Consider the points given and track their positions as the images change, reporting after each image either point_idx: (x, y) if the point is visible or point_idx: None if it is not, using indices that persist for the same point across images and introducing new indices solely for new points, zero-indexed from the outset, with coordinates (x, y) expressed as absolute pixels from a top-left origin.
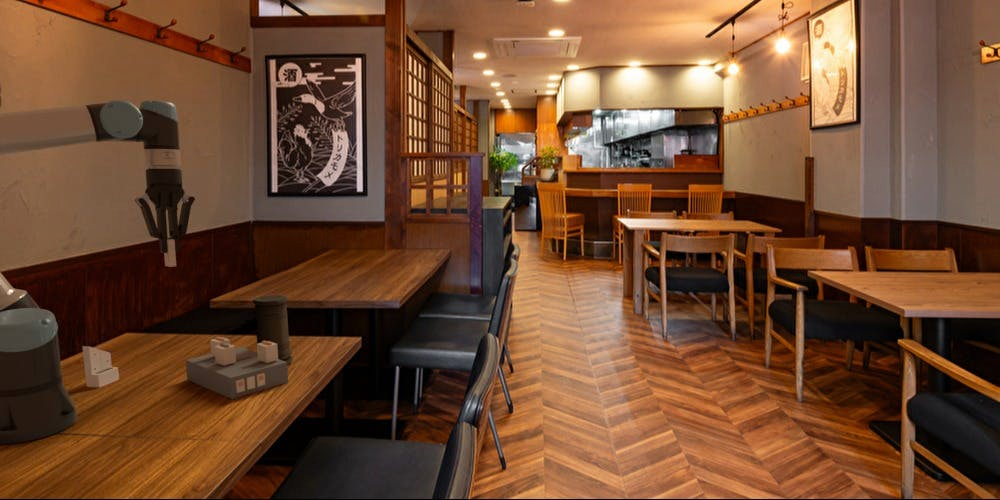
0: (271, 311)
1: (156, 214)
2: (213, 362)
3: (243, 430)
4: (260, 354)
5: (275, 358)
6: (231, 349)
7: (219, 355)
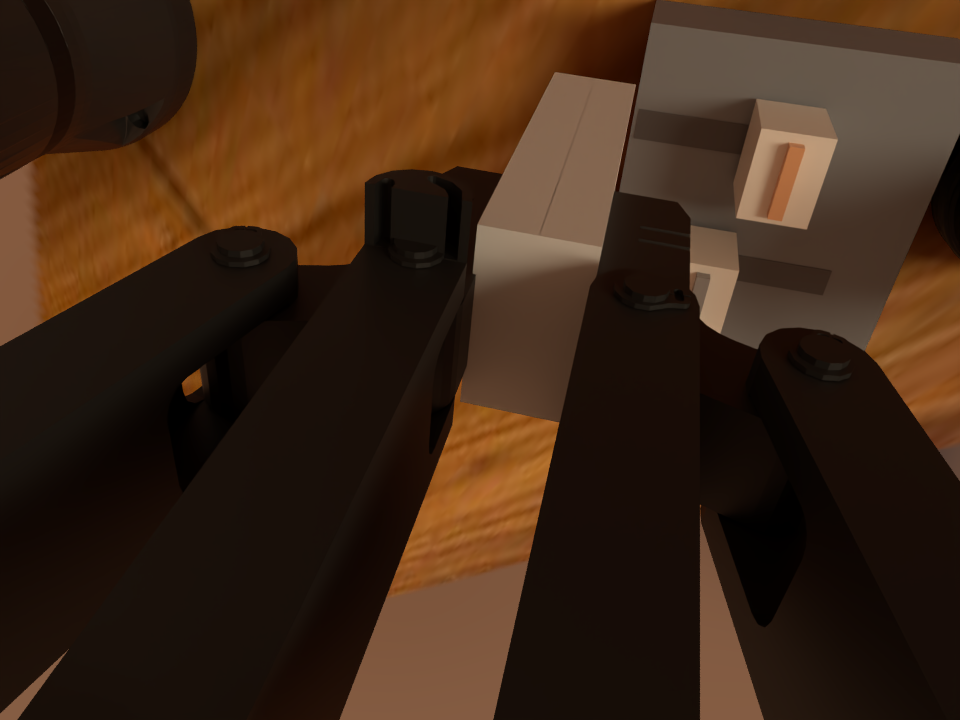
0: None
1: (75, 640)
2: (684, 194)
3: (464, 525)
4: None
5: None
6: None
7: None
